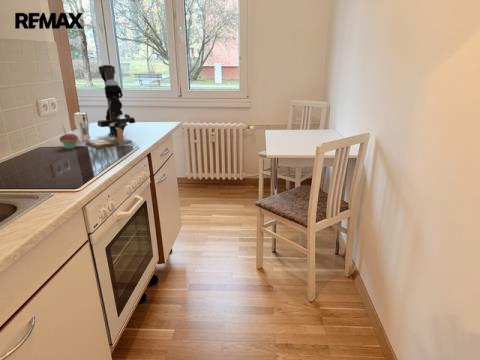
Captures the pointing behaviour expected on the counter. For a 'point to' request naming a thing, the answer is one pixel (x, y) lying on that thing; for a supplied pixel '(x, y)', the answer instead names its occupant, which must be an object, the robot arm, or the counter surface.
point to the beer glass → (82, 125)
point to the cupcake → (69, 140)
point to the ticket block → (102, 143)
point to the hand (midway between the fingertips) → (118, 137)
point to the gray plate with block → (120, 138)
